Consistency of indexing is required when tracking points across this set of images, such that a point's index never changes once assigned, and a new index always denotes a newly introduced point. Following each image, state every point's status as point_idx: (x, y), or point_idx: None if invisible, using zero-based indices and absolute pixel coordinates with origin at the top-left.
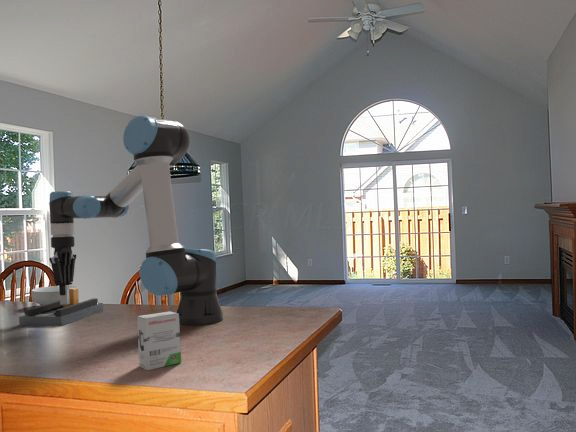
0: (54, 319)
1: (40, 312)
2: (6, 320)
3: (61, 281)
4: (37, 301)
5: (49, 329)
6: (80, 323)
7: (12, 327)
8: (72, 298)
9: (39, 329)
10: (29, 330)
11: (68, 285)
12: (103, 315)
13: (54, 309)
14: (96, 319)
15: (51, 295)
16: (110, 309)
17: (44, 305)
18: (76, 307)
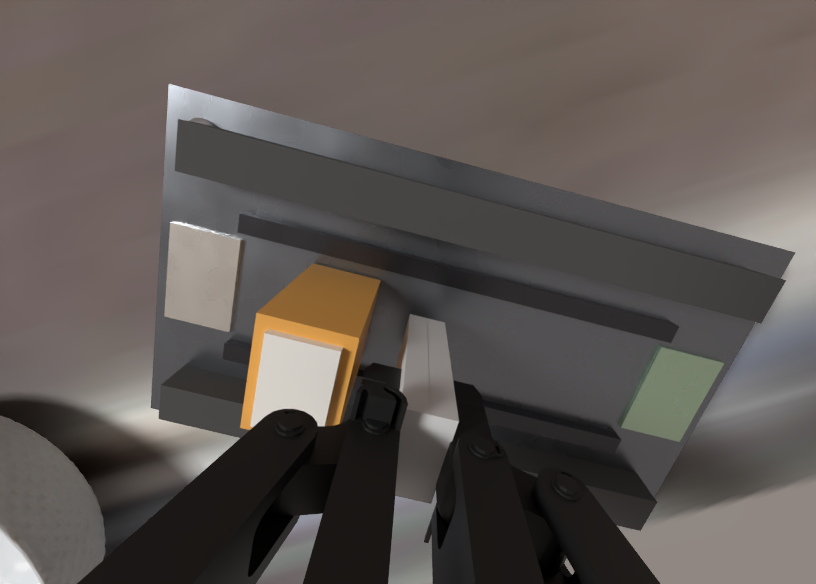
0: None
1: (607, 436)
2: (429, 576)
3: (594, 509)
4: None
5: (813, 284)
6: (691, 131)
7: None
8: (369, 314)
9: (779, 344)
10: (781, 389)
11: (413, 409)
12: (409, 30)
13: None
14: (571, 42)
15: (65, 542)
16: (143, 46)
17: None
18: (547, 216)
